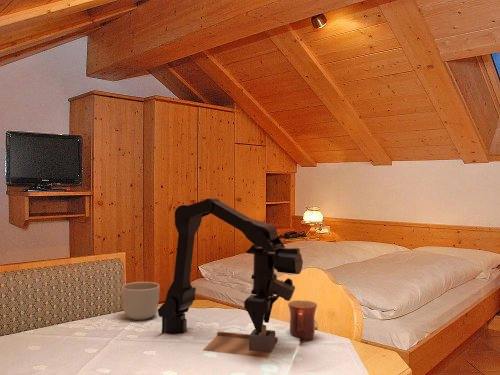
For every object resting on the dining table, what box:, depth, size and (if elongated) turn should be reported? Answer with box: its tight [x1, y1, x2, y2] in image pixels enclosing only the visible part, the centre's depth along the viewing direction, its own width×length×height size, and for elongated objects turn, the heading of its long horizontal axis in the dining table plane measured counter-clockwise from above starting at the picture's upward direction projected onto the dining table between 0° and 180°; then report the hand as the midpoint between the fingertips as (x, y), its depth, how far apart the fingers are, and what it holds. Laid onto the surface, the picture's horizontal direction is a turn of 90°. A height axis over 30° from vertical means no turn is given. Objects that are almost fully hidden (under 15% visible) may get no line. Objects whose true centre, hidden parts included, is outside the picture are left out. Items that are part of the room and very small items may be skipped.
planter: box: [121, 281, 160, 321], centre depth 153 cm, size 12×12×11 cm
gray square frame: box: [249, 328, 276, 354], centre depth 123 cm, size 6×6×4 cm
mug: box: [287, 299, 318, 342], centre depth 133 cm, size 12×9×10 cm
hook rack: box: [202, 324, 279, 359], centre depth 124 cm, size 18×13×7 cm
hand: (263, 327), depth 123 cm, fingers open, 9 cm apart
